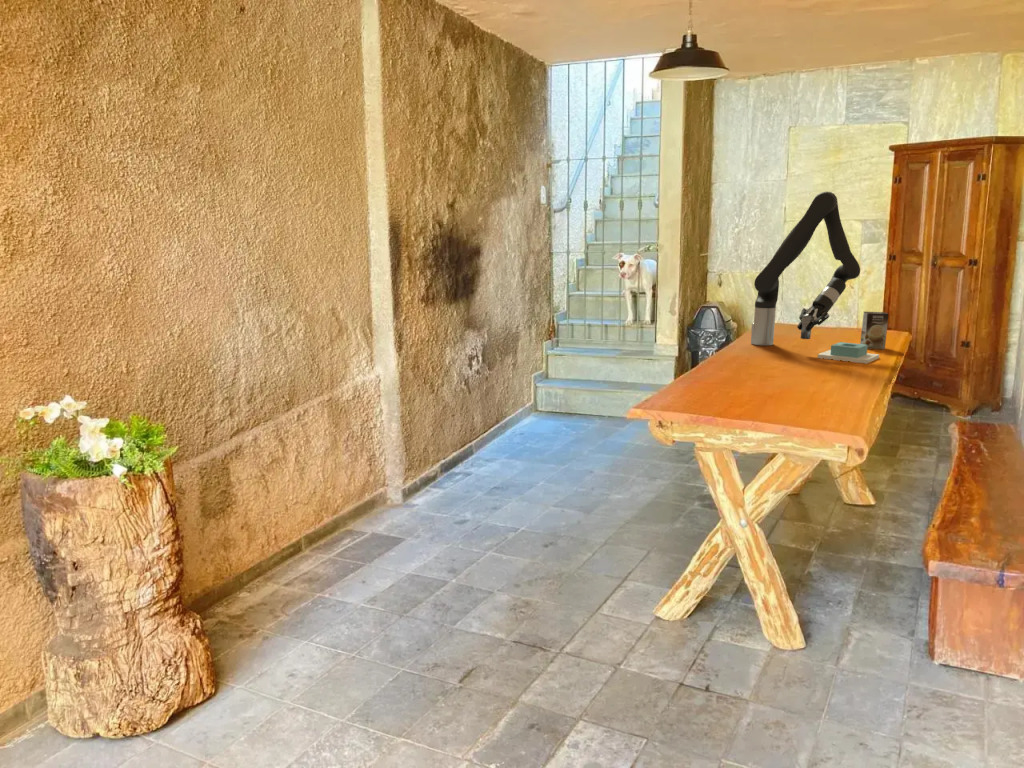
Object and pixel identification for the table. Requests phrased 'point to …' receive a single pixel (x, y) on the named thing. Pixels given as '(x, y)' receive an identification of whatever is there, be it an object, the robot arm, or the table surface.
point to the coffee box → (874, 329)
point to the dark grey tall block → (805, 321)
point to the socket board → (859, 360)
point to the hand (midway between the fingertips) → (802, 329)
